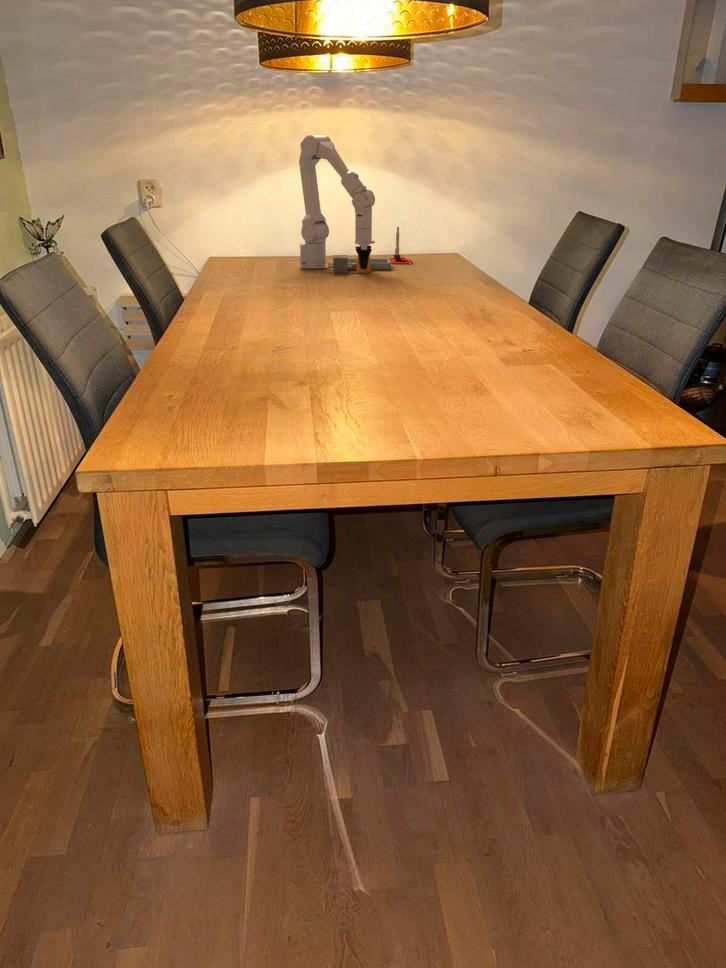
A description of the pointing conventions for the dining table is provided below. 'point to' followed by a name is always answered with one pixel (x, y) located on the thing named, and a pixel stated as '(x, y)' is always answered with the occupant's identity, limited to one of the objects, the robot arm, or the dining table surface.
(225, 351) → the dining table surface
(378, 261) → the tray
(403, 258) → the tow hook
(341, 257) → the block
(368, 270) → the hitch pin
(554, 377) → the dining table surface
